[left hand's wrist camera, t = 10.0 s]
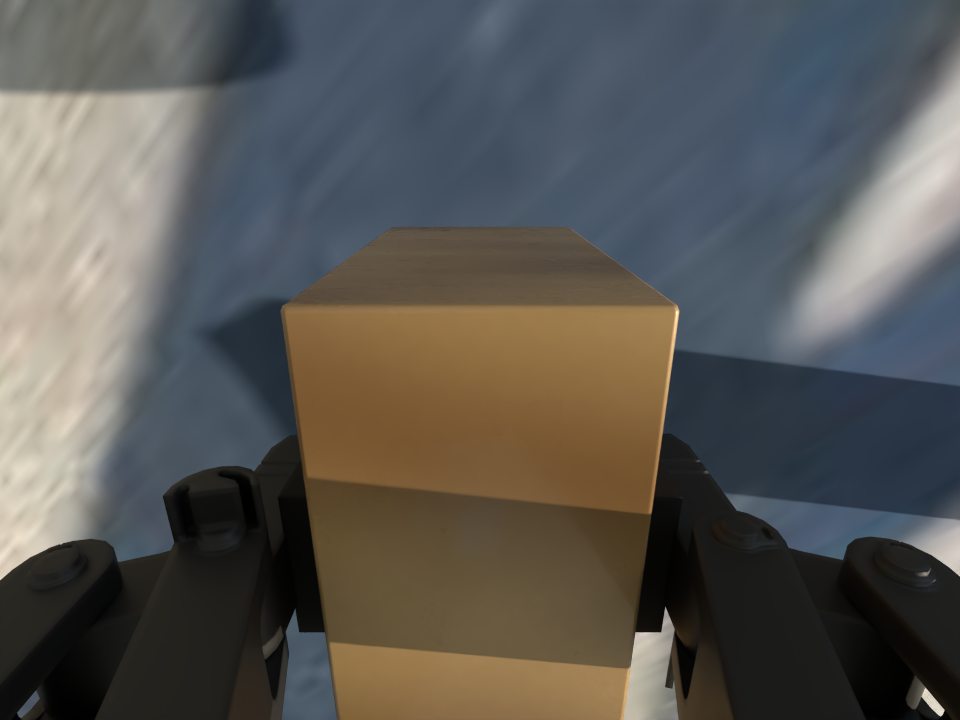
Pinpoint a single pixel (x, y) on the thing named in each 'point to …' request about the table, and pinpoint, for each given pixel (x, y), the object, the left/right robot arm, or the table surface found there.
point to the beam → (480, 470)
